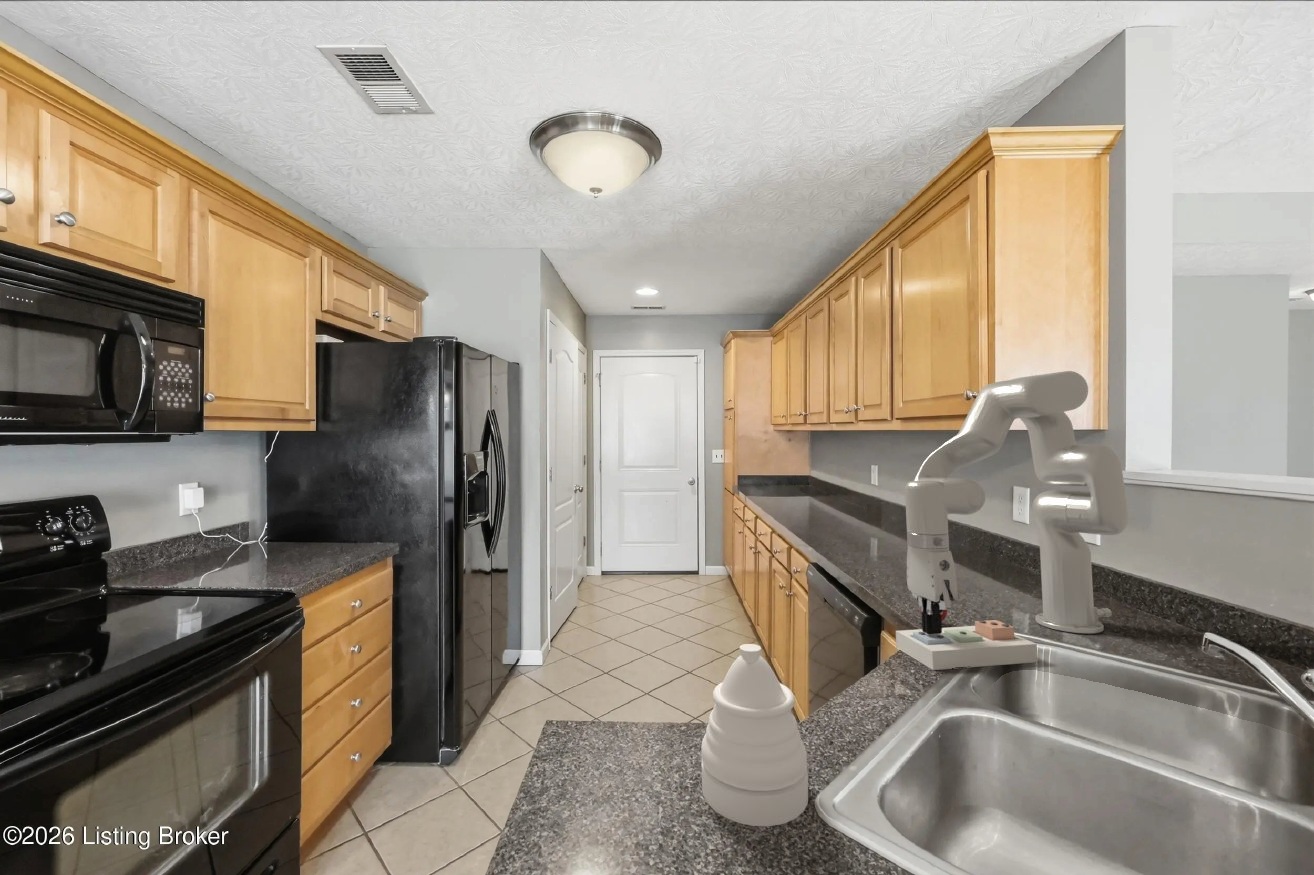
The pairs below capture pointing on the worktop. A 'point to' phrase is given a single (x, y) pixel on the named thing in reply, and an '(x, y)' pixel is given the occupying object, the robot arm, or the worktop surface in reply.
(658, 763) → the worktop surface
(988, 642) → the key board
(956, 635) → the key one
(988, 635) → the key three
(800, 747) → the honey pot
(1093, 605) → the robot arm
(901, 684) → the worktop surface
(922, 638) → the key two
